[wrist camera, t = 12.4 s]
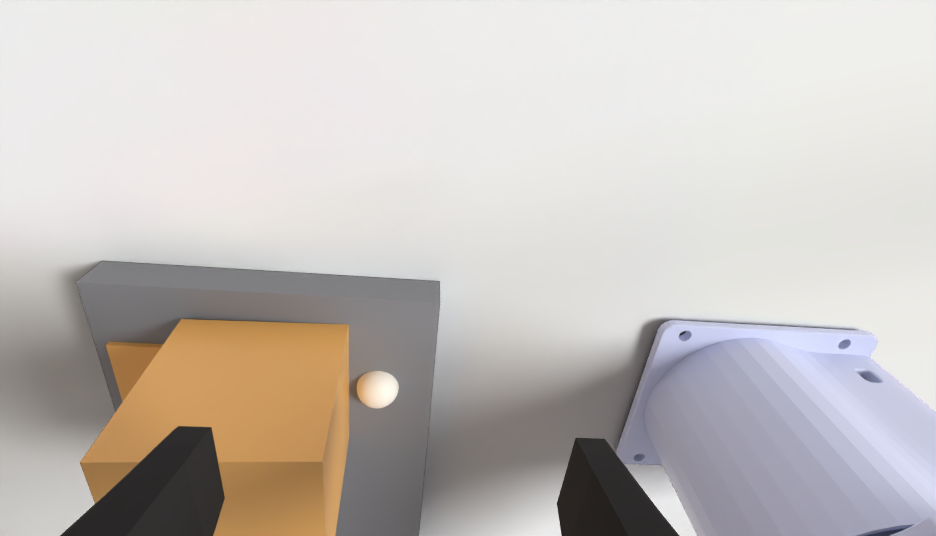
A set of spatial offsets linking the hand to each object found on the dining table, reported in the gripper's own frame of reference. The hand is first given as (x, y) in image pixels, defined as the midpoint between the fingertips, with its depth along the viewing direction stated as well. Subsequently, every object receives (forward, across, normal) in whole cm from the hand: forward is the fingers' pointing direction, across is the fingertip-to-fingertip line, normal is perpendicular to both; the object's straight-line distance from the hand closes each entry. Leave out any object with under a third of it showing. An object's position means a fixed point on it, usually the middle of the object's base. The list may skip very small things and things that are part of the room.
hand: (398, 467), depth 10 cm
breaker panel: (+9, +5, +11) cm, 15 cm away
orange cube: (+8, +5, +5) cm, 10 cm away
